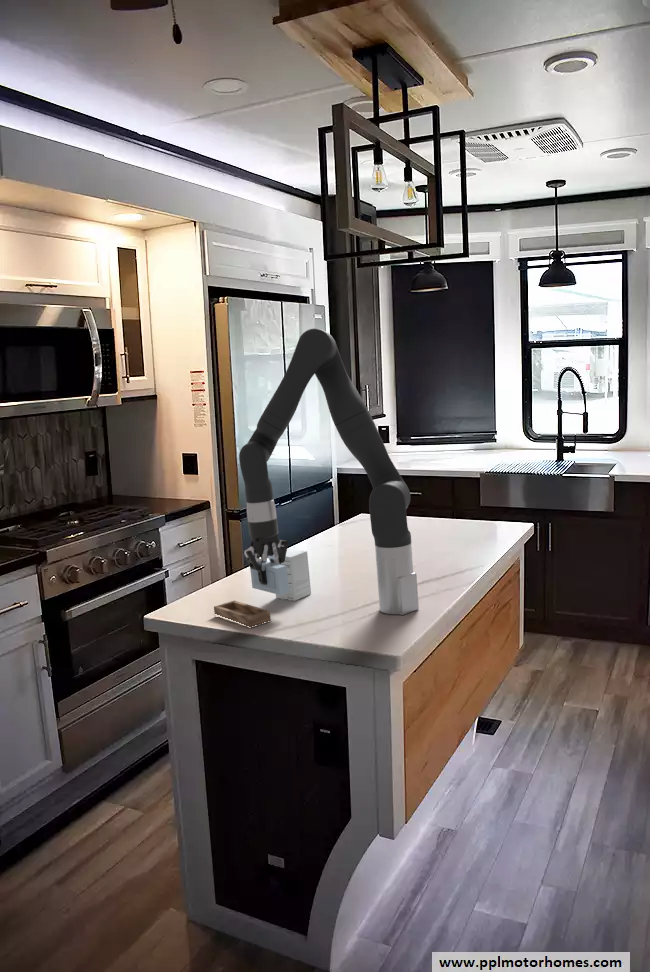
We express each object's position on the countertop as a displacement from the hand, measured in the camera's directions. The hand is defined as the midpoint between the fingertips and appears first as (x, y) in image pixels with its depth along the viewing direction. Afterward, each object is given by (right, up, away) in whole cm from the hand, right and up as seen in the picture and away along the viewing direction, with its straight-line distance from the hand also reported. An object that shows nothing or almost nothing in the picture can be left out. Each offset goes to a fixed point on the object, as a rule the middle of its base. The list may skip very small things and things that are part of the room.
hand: (269, 582), depth 210 cm
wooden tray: (-7, -9, -2) cm, 12 cm away
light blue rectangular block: (0, -2, +1) cm, 2 cm away
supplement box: (+6, -6, +15) cm, 17 cm away
